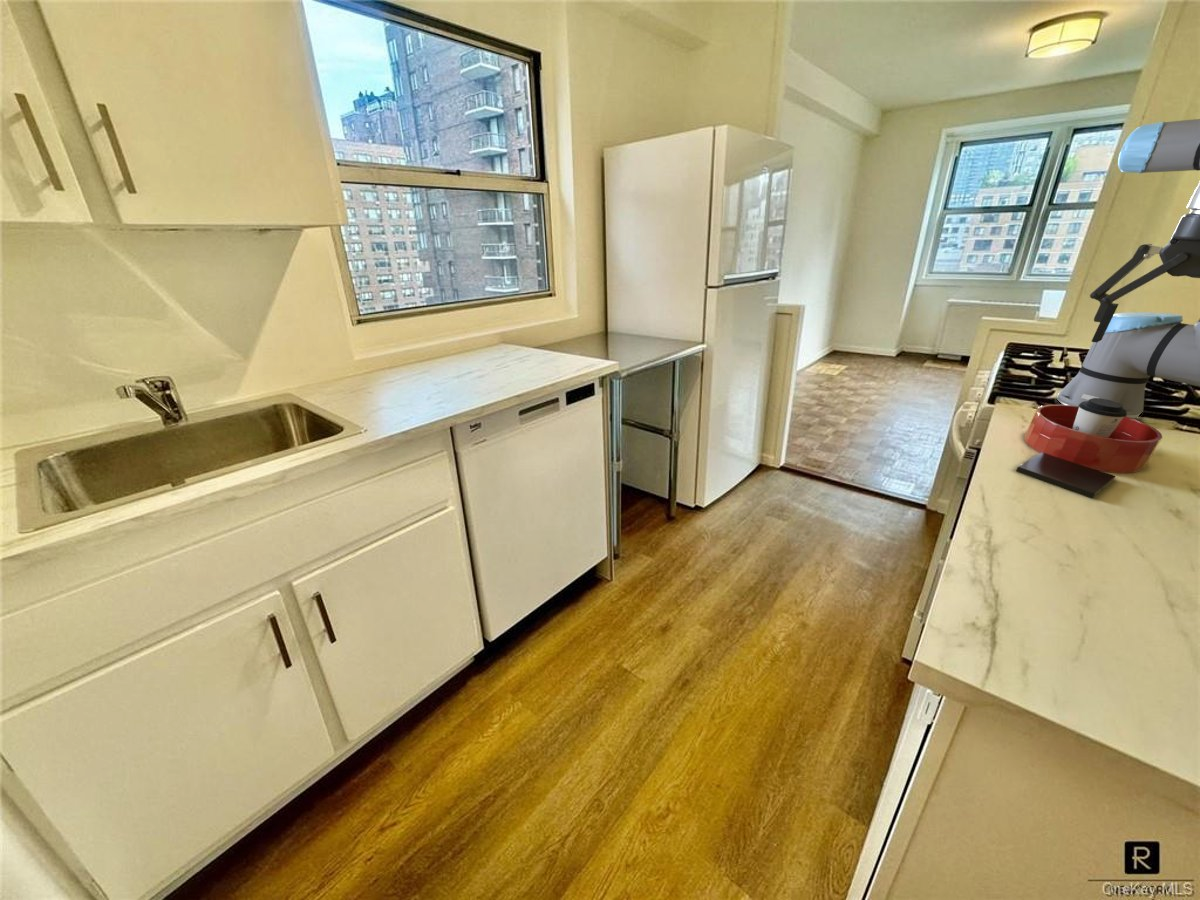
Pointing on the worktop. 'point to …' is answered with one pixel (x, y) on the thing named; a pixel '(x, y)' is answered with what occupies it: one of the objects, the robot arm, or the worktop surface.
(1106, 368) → the robot arm
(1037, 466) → the plate
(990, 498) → the worktop surface
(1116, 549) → the worktop surface
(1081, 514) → the worktop surface
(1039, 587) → the worktop surface
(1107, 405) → the coffee cup
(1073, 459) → the bowl
